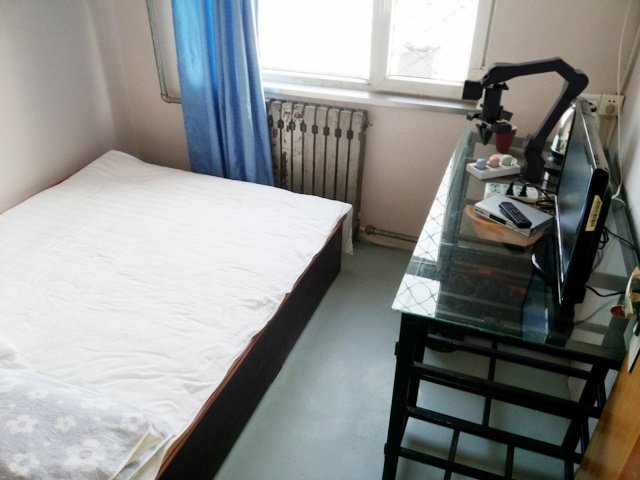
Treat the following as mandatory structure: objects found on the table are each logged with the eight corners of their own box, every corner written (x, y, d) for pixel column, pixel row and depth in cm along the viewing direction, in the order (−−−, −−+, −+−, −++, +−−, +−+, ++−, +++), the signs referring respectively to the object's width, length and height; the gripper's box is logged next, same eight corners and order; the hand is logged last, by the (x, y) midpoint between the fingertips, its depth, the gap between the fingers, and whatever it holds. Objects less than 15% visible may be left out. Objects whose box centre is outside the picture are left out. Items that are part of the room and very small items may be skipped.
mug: (492, 144, 217) (496, 120, 212) (512, 146, 215) (517, 122, 210) (491, 152, 209) (495, 128, 204) (512, 155, 206) (516, 130, 201)
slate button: (487, 169, 189) (489, 161, 187) (479, 170, 188) (480, 162, 186) (482, 165, 192) (483, 158, 190) (473, 166, 190) (475, 159, 189)
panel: (519, 172, 191) (520, 166, 190) (480, 179, 186) (481, 173, 185) (504, 164, 198) (505, 158, 197) (466, 170, 193) (467, 163, 192)
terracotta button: (500, 167, 190) (502, 159, 189) (492, 168, 189) (493, 160, 188) (494, 163, 193) (496, 156, 192) (486, 164, 192) (487, 157, 191)
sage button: (513, 165, 192) (514, 157, 190) (504, 166, 191) (506, 158, 189) (507, 161, 195) (508, 154, 193) (498, 163, 194) (500, 155, 192)
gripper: (529, 106, 172) (520, 151, 180) (495, 92, 187) (488, 134, 195) (501, 110, 169) (493, 155, 177) (468, 95, 184) (462, 137, 192)
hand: (484, 145), depth 185 cm, fingers closed
